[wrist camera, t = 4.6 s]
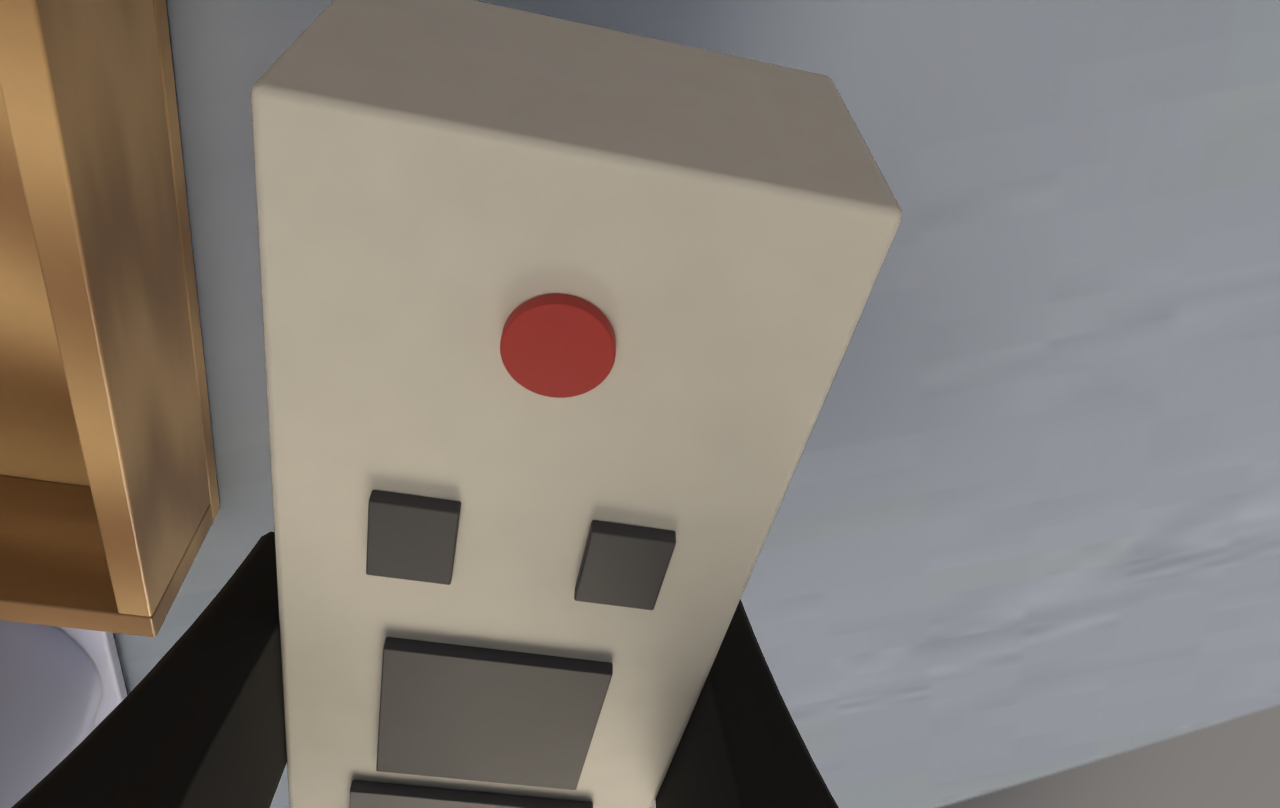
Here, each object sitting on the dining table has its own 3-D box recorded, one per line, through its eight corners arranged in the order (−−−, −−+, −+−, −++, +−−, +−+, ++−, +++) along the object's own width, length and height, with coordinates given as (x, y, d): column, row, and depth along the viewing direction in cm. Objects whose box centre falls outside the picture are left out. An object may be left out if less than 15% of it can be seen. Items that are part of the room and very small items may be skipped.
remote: (588, 800, 17) (582, 986, 15) (342, 777, 17) (292, 967, 14) (833, 74, 9) (916, 222, 6) (354, -28, 8) (238, 91, 6)
